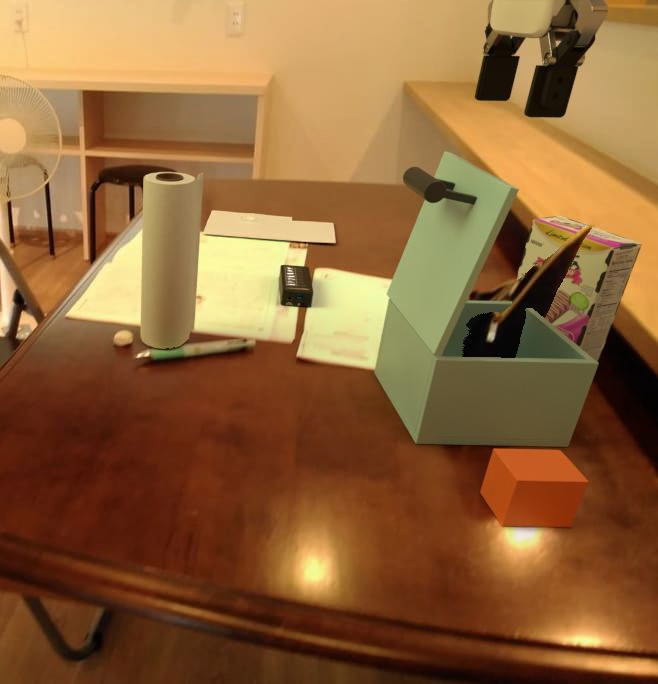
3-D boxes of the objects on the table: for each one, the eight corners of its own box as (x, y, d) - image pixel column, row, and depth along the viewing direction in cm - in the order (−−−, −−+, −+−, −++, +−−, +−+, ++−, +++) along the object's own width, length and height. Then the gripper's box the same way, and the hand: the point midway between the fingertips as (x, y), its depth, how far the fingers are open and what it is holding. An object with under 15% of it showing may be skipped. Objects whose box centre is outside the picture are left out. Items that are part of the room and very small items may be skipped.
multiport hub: (307, 279, 109) (308, 266, 108) (311, 307, 100) (313, 292, 99) (279, 277, 110) (280, 264, 109) (280, 305, 100) (282, 290, 99)
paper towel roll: (139, 349, 87) (143, 181, 77) (140, 328, 92) (143, 169, 82) (196, 351, 87) (207, 183, 77) (194, 330, 92) (203, 170, 82)
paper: (202, 236, 127) (202, 230, 127) (208, 210, 142) (208, 205, 142) (340, 245, 124) (340, 239, 124) (331, 218, 139) (332, 213, 139)
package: (544, 493, 63) (560, 449, 61) (570, 527, 59) (589, 481, 57) (479, 492, 63) (493, 448, 61) (501, 526, 59) (517, 480, 57)
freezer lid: (451, 152, 71) (398, 140, 70) (519, 189, 58) (455, 174, 57) (392, 295, 78) (344, 285, 78) (441, 356, 65) (383, 344, 65)
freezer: (502, 375, 83) (524, 301, 78) (568, 447, 70) (599, 363, 66) (373, 373, 83) (388, 298, 78) (415, 444, 70) (436, 359, 65)
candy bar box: (496, 335, 93) (530, 217, 85) (524, 330, 94) (559, 214, 87) (569, 374, 84) (614, 246, 76) (598, 368, 85) (645, 241, 78)
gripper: (697, -137, 46) (615, 125, 54) (560, -105, 62) (511, 95, 70) (586, -138, 46) (520, 124, 54) (477, -106, 62) (437, 94, 70)
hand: (515, 108), depth 62 cm, fingers open, 9 cm apart
